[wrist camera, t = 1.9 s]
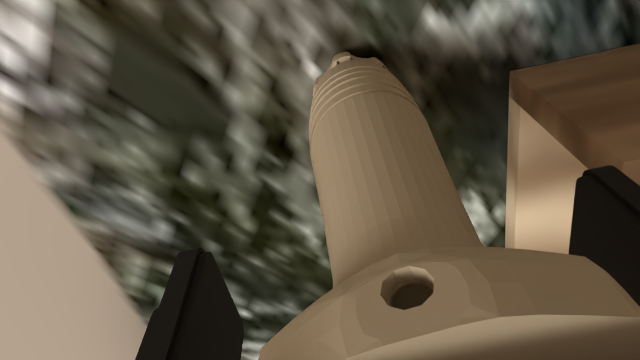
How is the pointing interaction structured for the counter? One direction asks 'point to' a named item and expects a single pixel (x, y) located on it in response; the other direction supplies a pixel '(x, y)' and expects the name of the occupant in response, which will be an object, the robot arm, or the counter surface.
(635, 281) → the robot arm
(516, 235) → the wooden box holder
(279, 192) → the counter surface
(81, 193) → the counter surface
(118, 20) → the counter surface
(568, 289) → the handle
